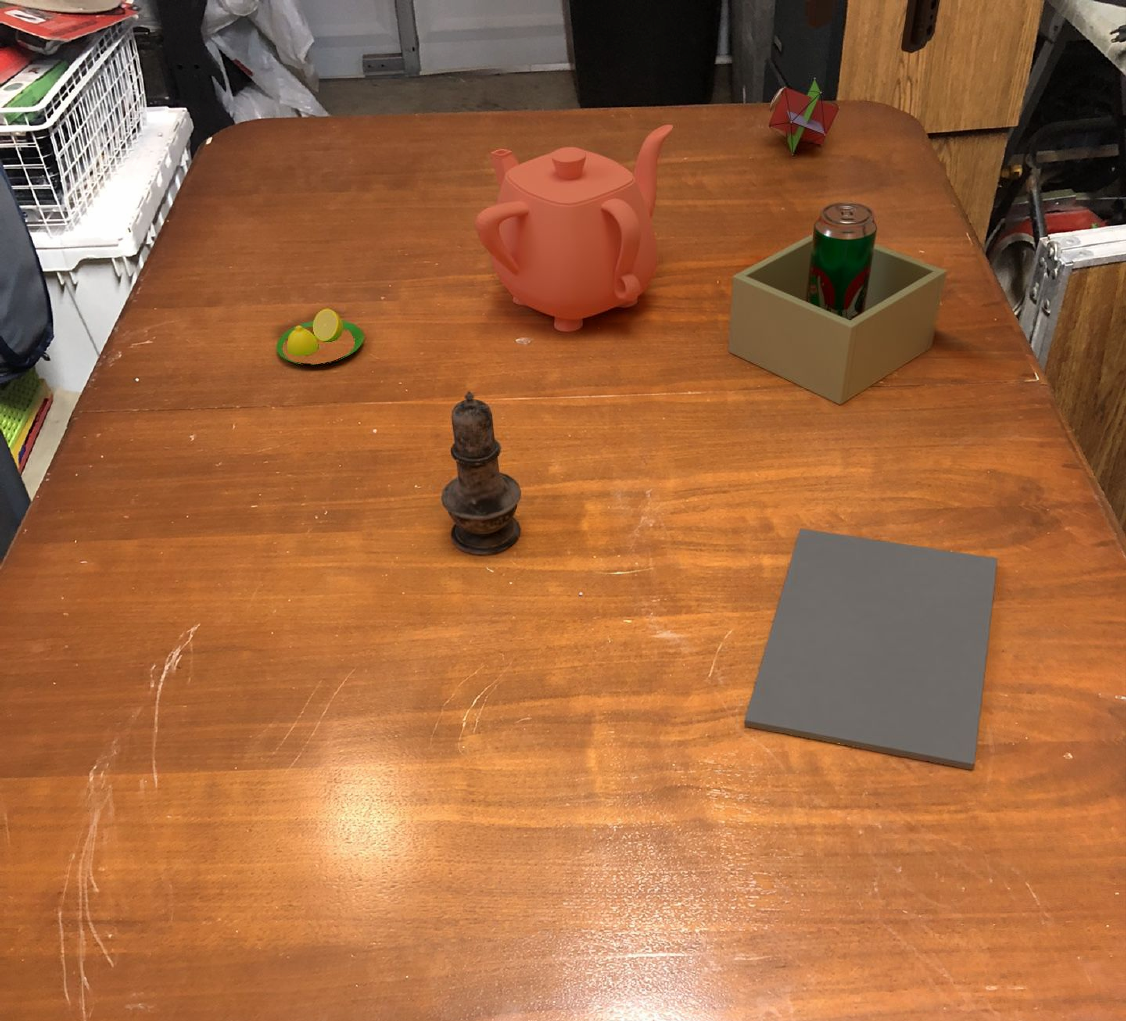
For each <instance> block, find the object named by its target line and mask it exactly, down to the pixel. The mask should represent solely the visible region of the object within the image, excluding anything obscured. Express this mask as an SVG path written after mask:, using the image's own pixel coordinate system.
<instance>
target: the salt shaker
mask: <svg viewBox="0 0 1126 1021" xmlns="http://www.w3.org/2000/svg"><path fill="white" fill-rule="evenodd" d="M450 416H451V417H450V418H451V427H452V434H453V439H454V443H453V444H452V445H451V447H450V455H451V458H452V459H453V460H454V461H455V463H456V471H457V477H455V478H453V479H451V480H450V481H449V482H448V483H447V484H446V485H445V487H444V488H443V490H442V491H441V496H440V500H441V503H442V506H443V507H444V509H445V510H446V512H447V513H448V515H449V516H450V518H451V520H452V521H453V522H454V525H453V526H452V528H451V531H450V538H451V543H452V544H453V545H454V546H455V547H456V548H457V549H459V550H460V551H461V552H464V553H467V554H469V555H475V556H491V555H496V554H499V553H503V552H505V551H508V549H510V548H512V547H513V546H515V544H516V543H517V542H518V540H519V539H520V537H521V531H522V530H521V529H522V528H521V526H520V522H519V521H518V520H517V519H516V518H515V517H514V516H515V514H516V511H517V508H518V504H519V502H520V500H521V497H522V489H521V486H520V484H519V483H518V481H517V480H516V479H515V478H513V477H512V476H510V475H508V473H507V474H506V473H503V472H500V466H499V456H500V454H501V453H502V446H501V443H500V441H498V440H497V439H495V438H496V437H495V429H494V428H495V427H494V418H493V412H492V410H491V407H490V406H489V404H487V403H486V402H485V401H482V400H480V399H477V398H475V395H474V394H473V393H472V392H471V391H470V390H469V391H466V393H465V395H464V400H461V401H459V402H457V403H456V404H455V406H454V407H453V408H452V410H451V415H450Z"/></svg>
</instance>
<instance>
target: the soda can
mask: <svg viewBox="0 0 1126 1021" xmlns="http://www.w3.org/2000/svg"><path fill="white" fill-rule="evenodd" d="M877 233H878V225H877V223H876V221H875V212H874V210H873V209H872V208H871V207H869V206H867V205H865V204H863V203H859V202H853V201H839V202H833V203H829V204H827V205H825V206H824V207H822V208H821V210H820V212H819V217H818V218H817V219H816V220H815V222H814V224H813V231H812V234H813V239H812V248H811V257H810V265H809V274H808V283H807V292H806V300H805V301H806V302H808V303H810V304H813V305H815V306H817V307H820V308H822V309H824V310H827V311H829V312H831V313H834V314H836V315H838V316H841V317H843V318H845V319H848V320H850V321H851V320H852V319H853V318H855V317H857V316H859V315H860V314H862V313H864V311H865V304H866V298H867V291H868V285H869V279H870V272H871V266H872V259H873V253H874V246H875V244H876V238H877Z"/></svg>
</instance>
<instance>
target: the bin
mask: <svg viewBox="0 0 1126 1021" xmlns="http://www.w3.org/2000/svg"><path fill="white" fill-rule="evenodd" d="M812 239H813V233H812V234H809V235H808V236H806V237H804V238H802V239H800V240H798V241H797V242H795V243H792V244H790V245H788V246H787V247H785V248H783V249H781V250H779V251H776V253H774V254H772V255H770V256H768V257H766V258H764V259H762V260H761V261H759V262H756V263H754V264H753V265H751V266H749V267H747V268H745V269H743V270H741V271H740V272H737V273H736V274H734V275H733V276H732V281H731V282H732V283H731V297H730V312H729V313H730V314H729V327H728V328H729V331H728V346H727V352H729V353H730V354H732V355H734V356H737V357H739V358H741V359H742V360H744V361H747V362H749V363H751V364H753V365H755V366H758V367H759V368H761V369H763V370H766V371H768V372H769V373H772V374H774V375H776V376H778V377H781V378H782V379H784V380H787V381H789V382H791V383H793V384H795V385H798V386H800V387H801V388H804V389H805V390H808V391H810V392H812V393H814V394H816V395H818V396H820V397H823V398H824V399H827V400H829V401H831V402H833V403H834V404H836V405H837V404H838V405H839V406H840V405H843V404H844V403H846V402H848V401H849V400H851V399H852V398H854V397H856V396H857V395H858V394H861V393H862V392H863V391H865V390H867V389H868V388H870V387H871V386H873V385H874V384H876V383H879V381H880V380H882V379H884V378H886V377H888V376H889V375H891V374H892V373H893V372H895V371H897V370H899V369H900V368H901V367H903V366H904V365H906V364H908V363H909V362H911V361H912V360H914V359H915V358H917V357H919V356H920V355H922V354H923V353H925V352H926V351H928V350H930V349H931V348H932V346H933V340H934V336H935V331H936V326H937V321H938V317H939V311H940V307H941V302H942V296H943V293H944V288H945V283H946V278H947V273H948V272H947V270H946V269H944V268H940V267H938V266H935V265H933V264H930V263H927V262H925V261H923V260H920V259H918V258H915V257H912V256H910V255H906V254H904V253H901V252H898V251H896V250H893V249H891V248H887V247H885V246H883V245H880V244H878V243H875V246H874V253H873V259H872V266H871V272H870V279H869V285H868V291H867V298H866V304H865V311H864V313H862V314H860V315H859V316H857V317H855V318H853V319H852V320H851V321H850V320H848V319H845V318H843V317H841V316H838V315H836V314H834V313H831V312H829V311H827V310H824V309H822V308H820V307H817V306H815V305H813V304H810V303H808V302H806V301H805V300H806V292H807V283H808V274H809V265H810V257H811V248H812Z"/></svg>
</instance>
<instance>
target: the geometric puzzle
mask: <svg viewBox="0 0 1126 1021" xmlns="http://www.w3.org/2000/svg"><path fill="white" fill-rule="evenodd" d="M807 81H808V82H807V83H804V85H802V86H801V87H799V88H795V87H790V88H789V85H788V86H784V87H782V88H780V89H779V90H778V91H777V92H776V93H775V94H774V96H773V98H772V99H771V101H770V104H769V112H772V111H773V110H774V111H773V114H772V115H771V118H770V120H769V121H768V122H769V123H768V124H767V127H769V129H770V130H771V131H772V132H775V133H777V134H779V135H780V136H782V137H783V139H785V140H786V142H787V144H788V146H789V148H787V150H789V152H790V153H791V155H792V156H793V155H795V154H798V153H800V152H801V153H803V152H805V151H808V150H809V148H808V149H804V148H806V147H808V146H810V145H815V147H814V146H813V147H811V148H810V150H812V149H815V148H818V147H823V144H824V141H825V139H826V137H827V135H828V133H829V131H830V129H831V127H832V126H833V123H834V120H835V118H836V116H837V114H838V112H839V110H840V109H841V107H840V106H839V105H838V104H837V103H836V102H834V101H833V98H832V97H831V96H830V95H828V97H827V96H826V95H825V94H824V93H822V91H821V88H820V87H822V85H821V84H820V83H819V82H818V81H817V78H816V77H814V78H812V80H810V79H808V80H807ZM811 82H812V84H811V86H810V88H809V89H808V90H807V89H802V88H803V87H805V86H806V85H808V84H809V83H811ZM801 83H802V84H803V82H800V84H801ZM818 84H819V85H818ZM794 85H796V83H795V84H793V86H794ZM798 91H805V92H807V94H804V93H801V92H798ZM823 91H824V92H825V93H827V91H826V89H823ZM823 96H824V97H825V98H826V99H827V100H829V101H830V102H831V103H832V104H830V103H829V102H826V101H823ZM819 97H820V99H819ZM829 97H830V98H829ZM777 130H779V131H781V132H785V133H786V134H785V135H786V137H785V136H783V135H782V134H781V133H779V132H778V131H777ZM777 134H775V136H776V137H777V138H778V139H780V137H779V136H778V135H777ZM788 134H789V135H788ZM800 139H802V140H806V141H801V140H800ZM808 141H809V142H808ZM781 143H783V145H784V146H786V145H785V144H784V142H783V141H781ZM798 143H803V144H806V145H805V146H803V147H801V148H800V149H798V150H796V147H797V146H798ZM803 149H804V150H803ZM795 150H796V151H795ZM801 150H802V151H801Z"/></svg>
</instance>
